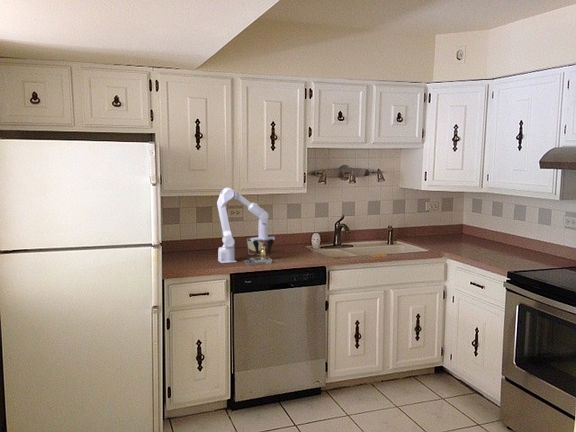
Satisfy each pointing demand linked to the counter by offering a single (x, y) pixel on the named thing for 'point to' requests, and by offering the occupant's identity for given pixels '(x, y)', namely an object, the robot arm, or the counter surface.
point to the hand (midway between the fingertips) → (263, 252)
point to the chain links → (258, 261)
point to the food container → (252, 248)
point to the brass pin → (262, 251)
